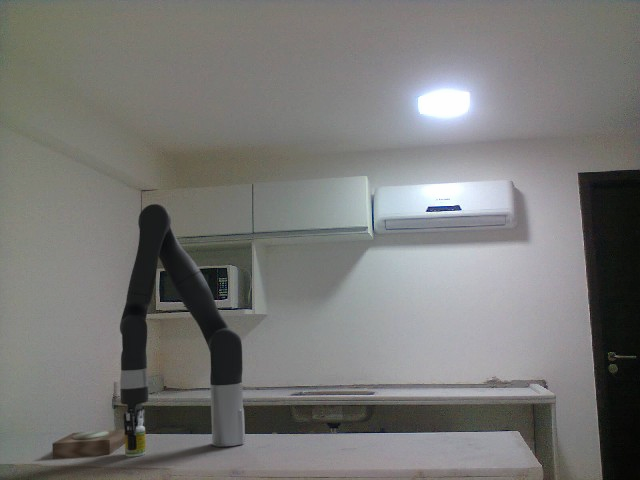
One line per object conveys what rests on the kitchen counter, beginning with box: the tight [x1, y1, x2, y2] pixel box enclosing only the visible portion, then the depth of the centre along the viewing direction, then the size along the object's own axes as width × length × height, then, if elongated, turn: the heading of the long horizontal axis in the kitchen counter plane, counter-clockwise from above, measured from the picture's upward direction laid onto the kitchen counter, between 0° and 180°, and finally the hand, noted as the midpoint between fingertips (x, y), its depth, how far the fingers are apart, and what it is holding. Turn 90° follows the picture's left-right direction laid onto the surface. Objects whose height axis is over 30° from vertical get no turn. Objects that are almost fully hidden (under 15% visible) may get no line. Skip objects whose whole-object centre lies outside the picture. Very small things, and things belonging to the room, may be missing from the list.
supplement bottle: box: [124, 418, 146, 458], centre depth 170 cm, size 5×5×10 cm
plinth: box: [51, 429, 125, 459], centre depth 180 cm, size 16×16×4 cm
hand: (135, 447), depth 170 cm, fingers closed on supplement bottle, 5 cm apart
